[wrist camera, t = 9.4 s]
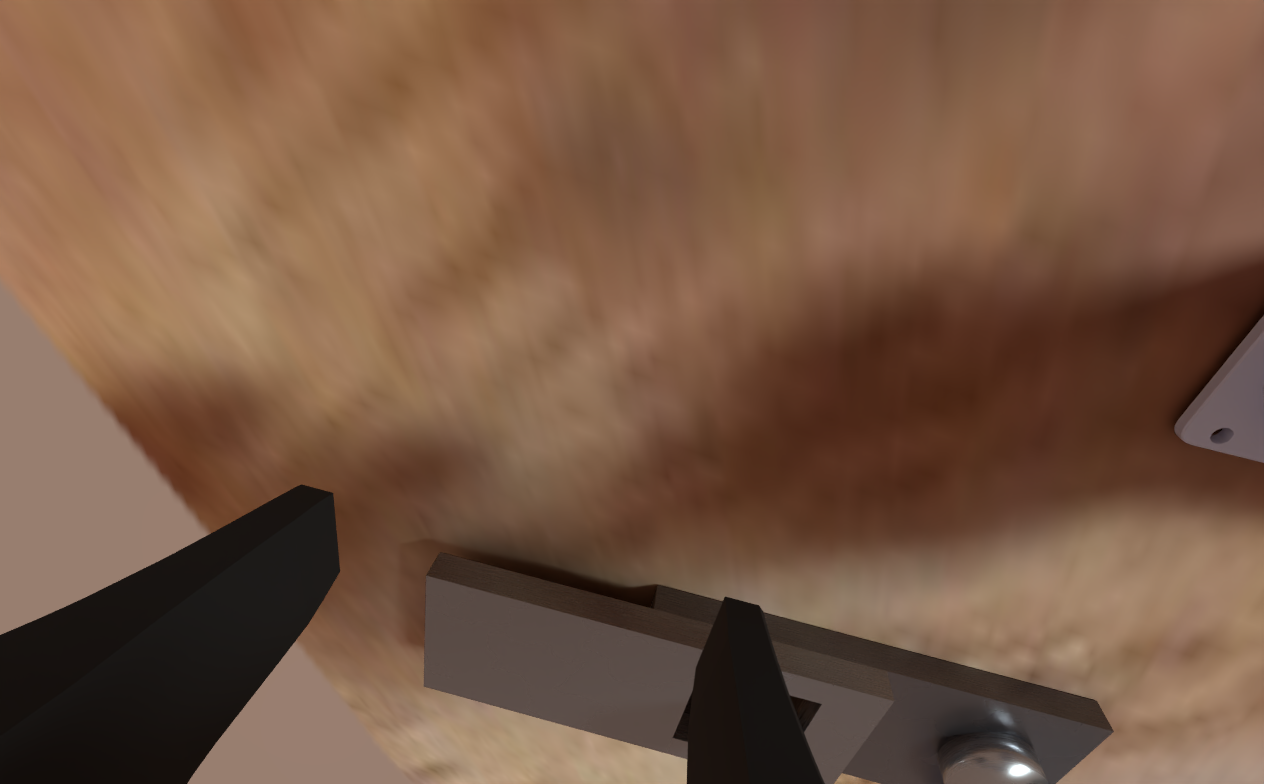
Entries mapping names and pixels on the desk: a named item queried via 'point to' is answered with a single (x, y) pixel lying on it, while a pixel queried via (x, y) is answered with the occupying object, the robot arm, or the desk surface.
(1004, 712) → the end link lower
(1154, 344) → the desk surface
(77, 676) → the robot arm
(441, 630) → the end link upper
